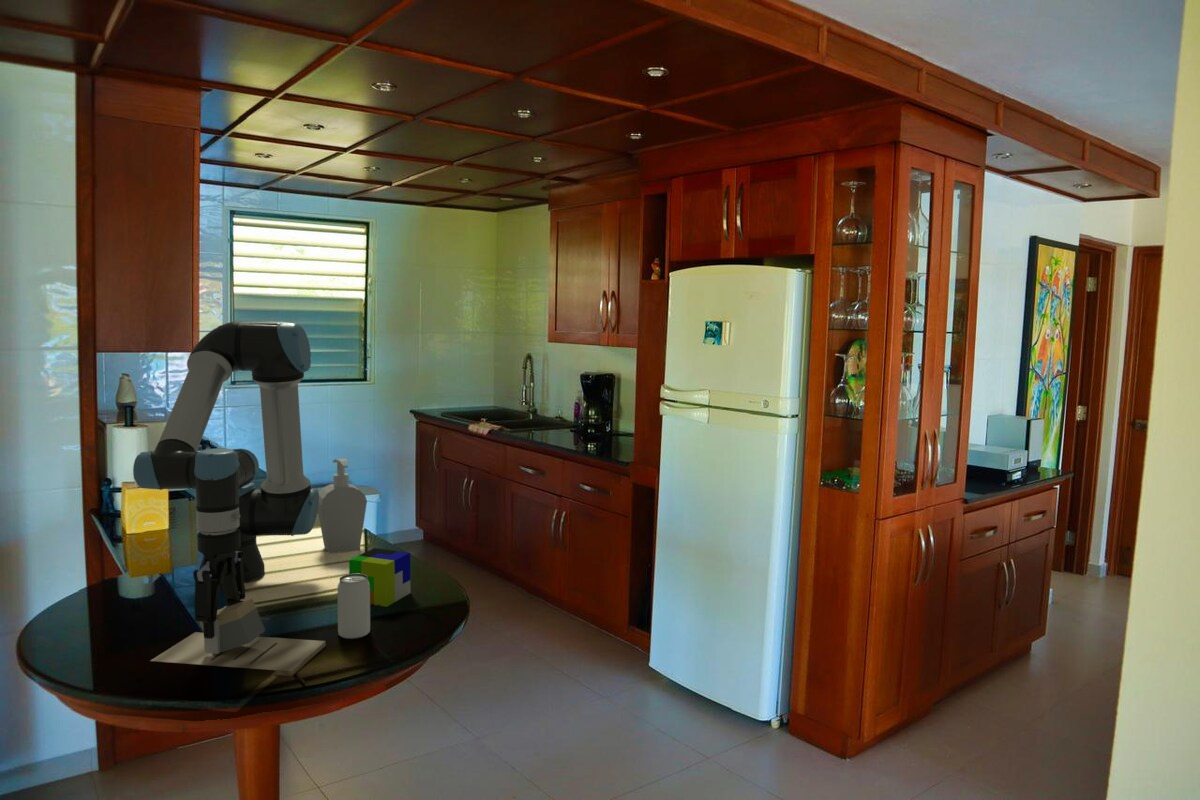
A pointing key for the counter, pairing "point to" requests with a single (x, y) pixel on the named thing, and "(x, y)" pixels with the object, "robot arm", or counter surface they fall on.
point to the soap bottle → (341, 512)
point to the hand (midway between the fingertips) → (222, 645)
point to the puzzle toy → (384, 574)
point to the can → (353, 606)
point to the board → (247, 654)
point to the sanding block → (238, 625)
